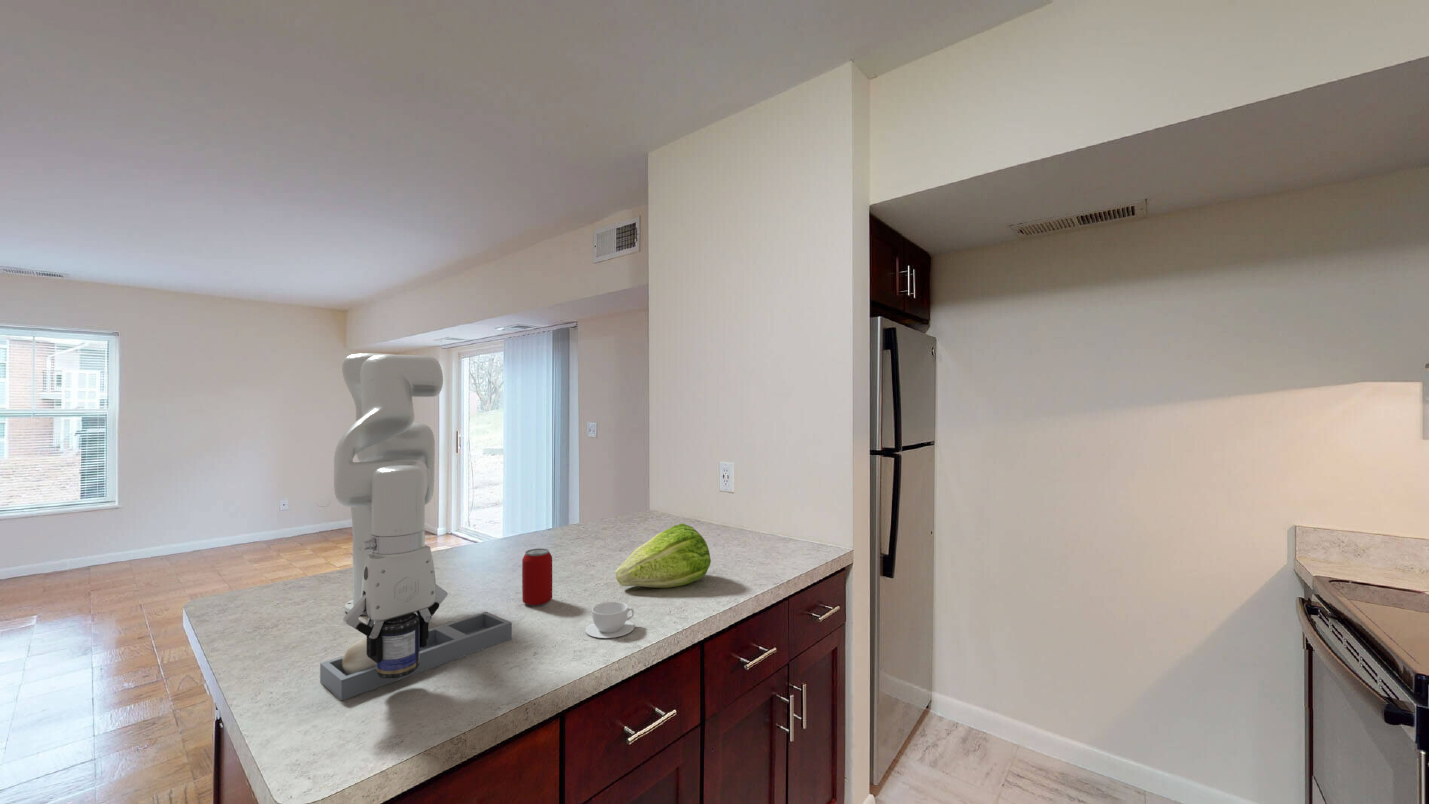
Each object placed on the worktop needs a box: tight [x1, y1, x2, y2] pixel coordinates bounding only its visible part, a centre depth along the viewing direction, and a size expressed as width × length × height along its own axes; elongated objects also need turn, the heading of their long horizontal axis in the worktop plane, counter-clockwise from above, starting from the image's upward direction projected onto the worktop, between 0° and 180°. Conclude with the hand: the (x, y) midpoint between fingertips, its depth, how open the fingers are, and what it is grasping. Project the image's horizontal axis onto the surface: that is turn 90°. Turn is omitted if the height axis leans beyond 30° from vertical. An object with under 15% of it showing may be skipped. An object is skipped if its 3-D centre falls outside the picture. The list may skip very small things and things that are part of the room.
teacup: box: [585, 601, 636, 639], centre depth 115 cm, size 10×10×5 cm
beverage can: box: [521, 547, 553, 607], centre depth 132 cm, size 7×7×12 cm
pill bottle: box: [377, 612, 420, 679], centre depth 91 cm, size 6×6×11 cm
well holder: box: [319, 611, 513, 701], centre depth 102 cm, size 10×30×3 cm, turn 142°
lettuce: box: [614, 523, 712, 589], centre depth 145 cm, size 15×24×16 cm
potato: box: [342, 638, 377, 675], centre depth 95 cm, size 6×6×6 cm
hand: (398, 651), depth 91 cm, fingers closed on pill bottle, 6 cm apart
